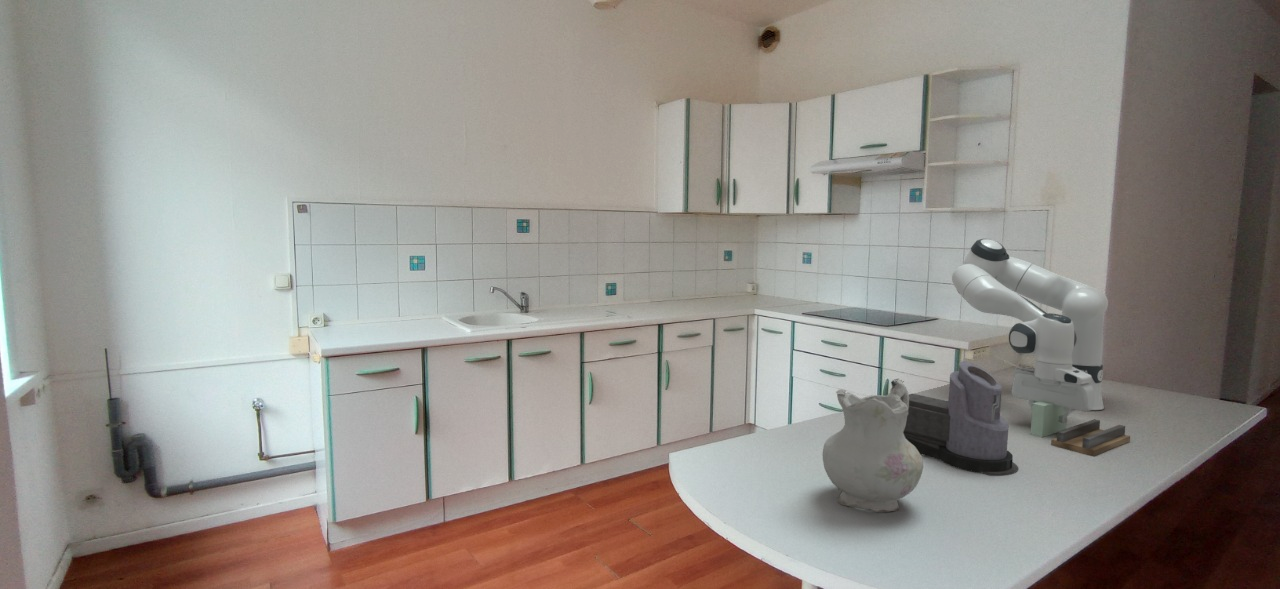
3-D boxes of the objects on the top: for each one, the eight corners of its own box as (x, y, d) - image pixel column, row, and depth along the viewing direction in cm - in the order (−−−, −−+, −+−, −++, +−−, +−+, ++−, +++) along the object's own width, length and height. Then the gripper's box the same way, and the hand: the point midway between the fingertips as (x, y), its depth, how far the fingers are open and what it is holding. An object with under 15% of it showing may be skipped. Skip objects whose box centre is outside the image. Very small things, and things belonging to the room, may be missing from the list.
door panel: (1030, 434, 177) (1032, 403, 176) (1054, 426, 184) (1056, 396, 183) (1041, 437, 174) (1044, 405, 173) (1065, 429, 182) (1068, 399, 181)
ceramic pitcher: (849, 478, 146) (845, 372, 145) (939, 494, 133) (935, 378, 132) (809, 509, 129) (804, 389, 128) (908, 531, 117) (903, 399, 115)
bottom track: (1050, 444, 168) (1052, 430, 167) (1088, 431, 179) (1089, 418, 179) (1093, 456, 159) (1095, 440, 159) (1129, 441, 171) (1131, 427, 171)
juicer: (1029, 465, 152) (1036, 366, 150) (1001, 481, 142) (1008, 375, 140) (911, 434, 176) (915, 348, 173) (879, 445, 166) (884, 354, 163)
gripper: (1009, 366, 184) (1005, 412, 186) (1088, 380, 167) (1084, 430, 169) (1019, 363, 188) (1016, 408, 189) (1098, 377, 171) (1094, 426, 172)
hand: (1049, 419), depth 179 cm, fingers open, 5 cm apart
